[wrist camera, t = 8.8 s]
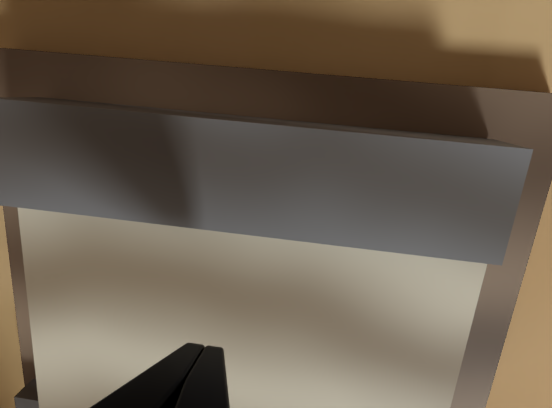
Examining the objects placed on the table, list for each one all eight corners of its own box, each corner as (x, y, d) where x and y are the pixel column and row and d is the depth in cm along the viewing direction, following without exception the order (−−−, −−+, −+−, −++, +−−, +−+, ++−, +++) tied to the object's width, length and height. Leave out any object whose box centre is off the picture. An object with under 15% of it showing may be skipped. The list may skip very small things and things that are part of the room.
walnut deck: (452, 456, 16) (472, 510, 14) (46, 389, 18) (9, 429, 15) (551, 95, 12) (600, 95, 10) (12, 50, 14) (-45, 42, 11)
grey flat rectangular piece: (416, 458, 15) (433, 521, 12) (67, 400, 16) (26, 448, 14) (492, 139, 11) (533, 149, 9) (42, 97, 12) (-17, 97, 10)
